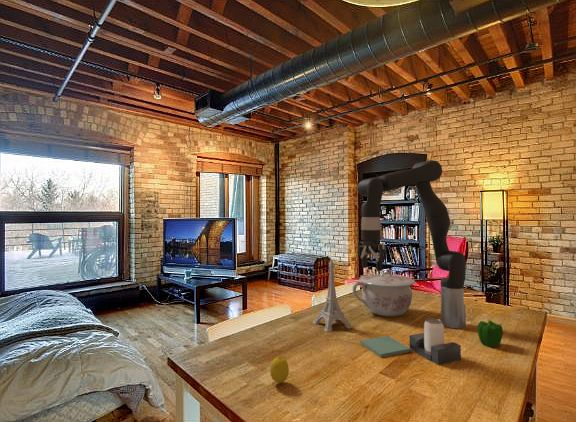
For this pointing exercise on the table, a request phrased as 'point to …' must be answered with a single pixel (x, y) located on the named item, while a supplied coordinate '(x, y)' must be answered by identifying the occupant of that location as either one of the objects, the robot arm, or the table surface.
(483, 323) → the bell pepper
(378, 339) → the mat
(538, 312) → the table surface
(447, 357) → the block
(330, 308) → the eiffel tower
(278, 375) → the lemon
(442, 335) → the can
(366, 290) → the chamber pot
